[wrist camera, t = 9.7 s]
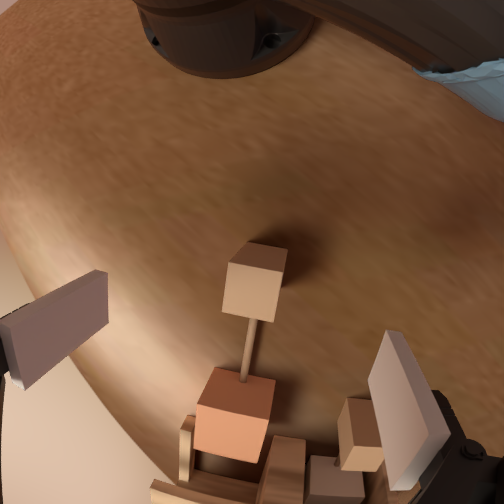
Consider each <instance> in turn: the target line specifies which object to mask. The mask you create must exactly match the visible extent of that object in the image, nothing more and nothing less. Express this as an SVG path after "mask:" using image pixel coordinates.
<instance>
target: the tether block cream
mask: <svg viewBox="0 0 504 504" xmlns="http://www.w3.org/2000/svg"><path fill="white" fill-rule="evenodd" d="M337 425H338V436H339V449H340V452H339V454H338V456H337V457H326V456H317V455H311V456H310V459H309V461H308V463H307V465H306V468H305V472H304V491H303V504H360V503H361V502H362V500H363V499H364V498H365V493H364V484H363V476H362V471H369V472H376V471H377V469H378V468H379V466H380V465H381V463H382V461H383V460H384V453H383V448H382V443H381V438H380V433H379V428H378V424H377V419H376V414H375V410H374V405H373V401H372V400H366V399H357V398H348V397H347V399H346V401H345V404H344V406H343V409H342V411H341V414H340V416H339V419H338V421H337Z"/></svg>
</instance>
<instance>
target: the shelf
mask: <svg viewBox="0 0 504 504" xmlns="http://www.w3.org/2000/svg"><path fill="white" fill-rule="evenodd" d="M195 421H196V417H193V416H189V415H187V417H186V419H185V421H184V423H183V425H182V427H181V429H180V455H179V481H178V483H177V486H175V485H171V484H168V483H165V482H162V481H159V480H156V479H154V481H153V483H152V485H151V487H150V493H151V501H152V504H303V491H304V472H305V450H306V440H304V439H297V438H290V437H284V436H278V435H274V438H273V441H272V444H271V448H270V451H269V454H268V457H267V460H266V464H265V467H264V470H263V473H262V476H261V479H260V482H259V484H257V483H252V482H247V481H242V480H237V479H232V478H228V477H223V476H219V475H215V474H211V473H207V472H203V471H200V470H196V469H194V460H195V449H193V447H194V434H195ZM362 476H363V484H364V493H365V498H364V499H363V500H362V502H361V503H360V504H399V502H398V497H397V492H396V490H395V491H390V487H389V481H388V475H387V469H386V464H385V459H384V460H383V461H382V463H381V465H380V466H379V468H378V469H377V471H376V472H369V471H363V472H362Z"/></svg>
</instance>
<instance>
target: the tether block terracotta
mask: <svg viewBox="0 0 504 504" xmlns="http://www.w3.org/2000/svg"><path fill="white" fill-rule="evenodd" d="M287 252H288V249H284V248H278V247H273V246H267V245H262V244H256V243H251V242H247V243H246V244H245V245H244V246H243V247H242V248H241V249H240V250H239V251H238V252H237V254H236V255H235V256H234V257H233V258H232V259H231V260H230V261H229V263H228V270H227V278H226V285H225V292H224V300H223V307H222V312H225V313H229V314H234V315H239V316H244V317H249V318H250V320H249V326H248V332H247V337H246V343H245V349H244V355H243V361H242V367H241V372H240V373H238V372H233V371H229V370H225V369H220V368H216V367H215V368H214V370H213V372H212V374H211V376H210V378H209V380H208V382H207V384H206V386H205V388H204V390H203V392H202V394H201V396H200V398H199V401H198V403H197V408H196V421H195V434H194V447H193V449H197V450H200V451H204V452H208V453H212V454H216V455H220V456H224V457H228V458H233V459H237V460H242V461H247V462H252V463H257V462H258V458H259V455H260V451H261V448H262V444H263V440H264V437H265V433H266V430H267V426H268V422H269V418H270V412H271V406H272V400H273V394H274V388H275V382H276V380H272V379H267V378H262V377H257V376H252V375H248V371H249V366H250V361H251V355H252V350H253V344H254V339H255V333H256V328H257V322H258V320H263V321H269V322H273V321H274V317H275V312H276V308H277V303H278V298H279V294H280V289H281V284H282V279H283V273H284V268H285V263H286V257H287Z"/></svg>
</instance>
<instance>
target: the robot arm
mask: <svg viewBox="0 0 504 504" xmlns="http://www.w3.org/2000/svg"><path fill="white" fill-rule="evenodd" d="M133 1H134V2H135V3H136V5H137V8H138V12H139V15H140V18H141V21H142V25H143V28H144V31H145V34H146V36H147V39H148V40H149V42H150V44H151V45H152V47H153V48H154V49H155V50H156V51H157V52H158V53H159V54H160V55H161V56H162V57H163V58H164V59H166V60H167V61H168V62H169V63H171V64H172V65H173V66H175V67H176V68H178V69H180V70H182V71H184V72H186V73H189V74H191V75H195V76H199V77H204V78H212V79H229V78H238V77H243V76H248V75H251V74H255V73H258V72H261V71H263V70H266V69H268V68H270V67H272V66H274V65H276V64H278V63H279V62H281V61H282V60H284V59H285V58H287V57H288V56H289V55H291V54H292V53H293V52H294V51H295V50H296V49H297V48H298V47H299V46H300V45H301V44H302V43H303V41H304V40H305V39H306V37H307V36H308V34H309V32H310V30H311V28H312V26H313V23H314V19H315V16H316V17H319V18H321V19H323V20H326V21H328V22H330V23H332V24H335V25H337V26H339V27H341V28H343V29H346V30H348V31H350V32H352V33H354V34H356V35H358V36H360V37H362V38H364V39H366V40H368V41H370V42H372V43H373V44H375V45H377V46H379V47H381V48H383V49H384V50H386V51H388V52H390V53H392V54H393V55H395V56H397V57H398V58H400V59H402V60H403V61H405V62H406V63H408V64H410V65H411V66H412V70H413V71H415V72H416V73H417V74H418V75H420V76H421V77H423V78H425V79H427V80H430V81H434V82H438V83H439V84H441V85H443V86H444V87H446V88H447V89H449V90H450V91H452V92H453V93H455V94H456V95H458V96H459V97H461V98H462V99H464V100H465V101H467V102H468V103H470V104H471V105H472V106H474V107H475V108H477V109H478V110H479V111H481V112H482V113H484V114H485V115H487V116H489V117H491V118H493V119H496V120H498V121H501V122H504V0H133ZM108 323H109V320H108V273H106V272H103V271H99V270H94V271H92V272H89V273H87V274H85V275H84V276H82V277H80V278H78V279H76V280H74V281H72V282H70V283H68V284H66V285H64V286H62V287H60V288H58V289H56V290H54V291H52V292H50V293H48V294H46V295H45V296H43V297H41V298H39V299H37V300H35V301H33V302H31V303H28V304H26V305H24V306H22V307H20V308H19V309H16V310H14V311H13V312H12V313H9V314H7V315H5V316H3V317H2V318H0V504H3V496H2V481H1V431H2V430H1V429H2V413H3V401H4V391H5V377H4V374H5V373H6V372H8V371H9V372H10V376H11V379H12V383H14V384H15V385H17V386H18V387H20V388H22V389H23V390H26V389H27V388H29V387H30V386H31V385H32V384H33V383H35V382H36V381H37V380H38V379H40V378H41V377H42V376H43V375H44V374H46V373H47V372H48V371H49V370H51V369H52V368H53V367H54V366H55V365H56V364H58V363H59V362H60V361H62V360H63V359H64V358H65V357H66V356H68V355H69V354H70V353H71V352H73V351H74V350H75V349H76V348H78V347H79V346H80V345H81V344H83V343H84V342H85V341H86V340H88V339H89V338H90V337H91V336H93V335H94V334H95V333H96V332H98V331H99V330H100V329H101V328H103V327H104V326H105V325H106V324H108ZM368 384H369V388H370V392H371V397H372V401H373V405H374V410H375V414H376V419H377V424H378V428H379V433H380V438H381V443H382V448H383V453H384V459H385V464H386V469H387V475H388V481H389V487H390V491H395V490H411V489H412V487H413V486H414V485H415V484H416V482H417V481H418V480H419V482H420V486H421V489H420V490H419V491H418V492H417V494H416V495H415V496H414V497H413V498H412V499H411V501H410V502H409V503H408V504H504V456H503V458H499V457H493V456H487V453H486V451H485V449H484V448H483V446H482V445H481V444H479V443H478V442H476V441H474V440H471V439H467V438H466V436H465V434H464V432H463V430H462V428H461V426H460V424H459V422H458V420H457V418H456V416H455V413H454V411H453V409H451V405H450V404H449V402H448V400H447V398H446V397H445V396H444V395H443V394H442V393H441V392H440V391H439V390H431V389H430V387H429V385H428V383H427V381H426V379H425V377H424V375H423V373H422V371H421V369H420V367H419V365H418V363H417V361H416V359H415V357H414V355H413V353H412V351H411V349H410V347H409V346H408V344H407V342H406V340H405V338H404V336H403V334H402V332H397V331H390V330H386V331H385V334H384V337H383V340H382V343H381V346H380V349H379V351H378V354H377V357H376V360H375V362H374V365H373V368H372V370H371V373H370V376H369V378H368Z"/></svg>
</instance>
